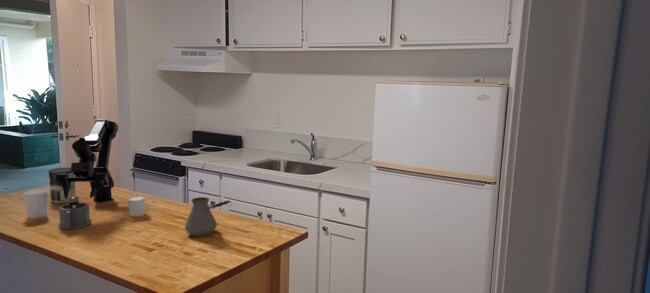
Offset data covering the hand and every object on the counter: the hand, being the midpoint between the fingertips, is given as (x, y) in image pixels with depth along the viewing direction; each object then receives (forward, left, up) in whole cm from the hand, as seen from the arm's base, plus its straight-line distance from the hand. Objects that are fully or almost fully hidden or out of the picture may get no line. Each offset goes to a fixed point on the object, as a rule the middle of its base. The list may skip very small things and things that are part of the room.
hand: (78, 198), depth 174 cm
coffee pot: (-23, +52, -10) cm, 58 cm away
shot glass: (-19, +9, -10) cm, 23 cm away
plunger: (+3, +3, -7) cm, 8 cm away
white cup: (+8, -20, -10) cm, 23 cm away
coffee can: (-9, -37, -10) cm, 39 cm away
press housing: (+3, +3, -9) cm, 10 cm away
